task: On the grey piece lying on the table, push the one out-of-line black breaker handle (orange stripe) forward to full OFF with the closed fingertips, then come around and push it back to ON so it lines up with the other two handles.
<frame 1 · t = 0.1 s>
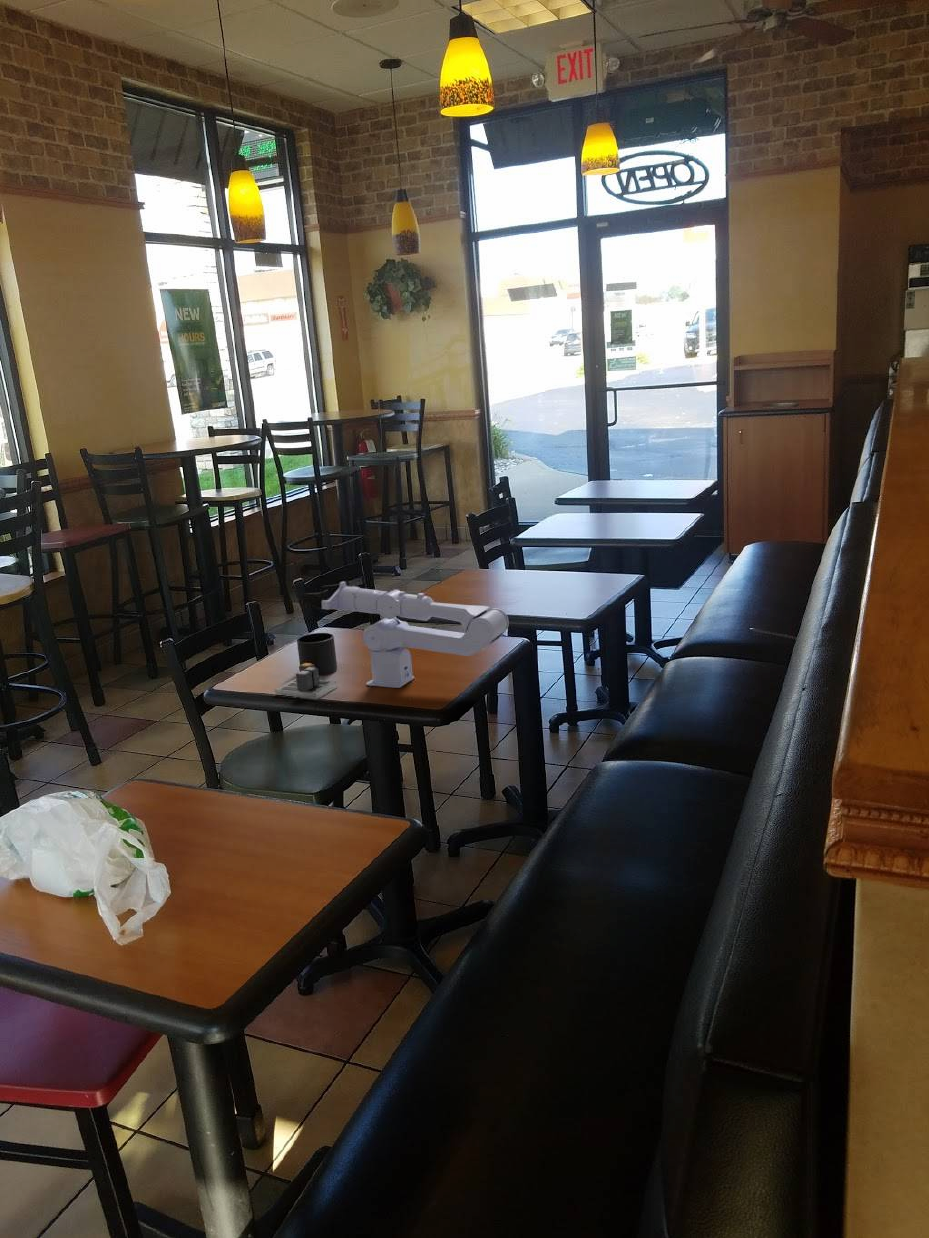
hand: (312, 594, 238), 22 cm above the table, tool horizontal, fingers open, 7 cm apart
mug: (321, 670, 250), on the table
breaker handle: (307, 672, 235), point 4 cm above the table, slide at 0.0 cm
grey piece: (306, 691, 233), on the table
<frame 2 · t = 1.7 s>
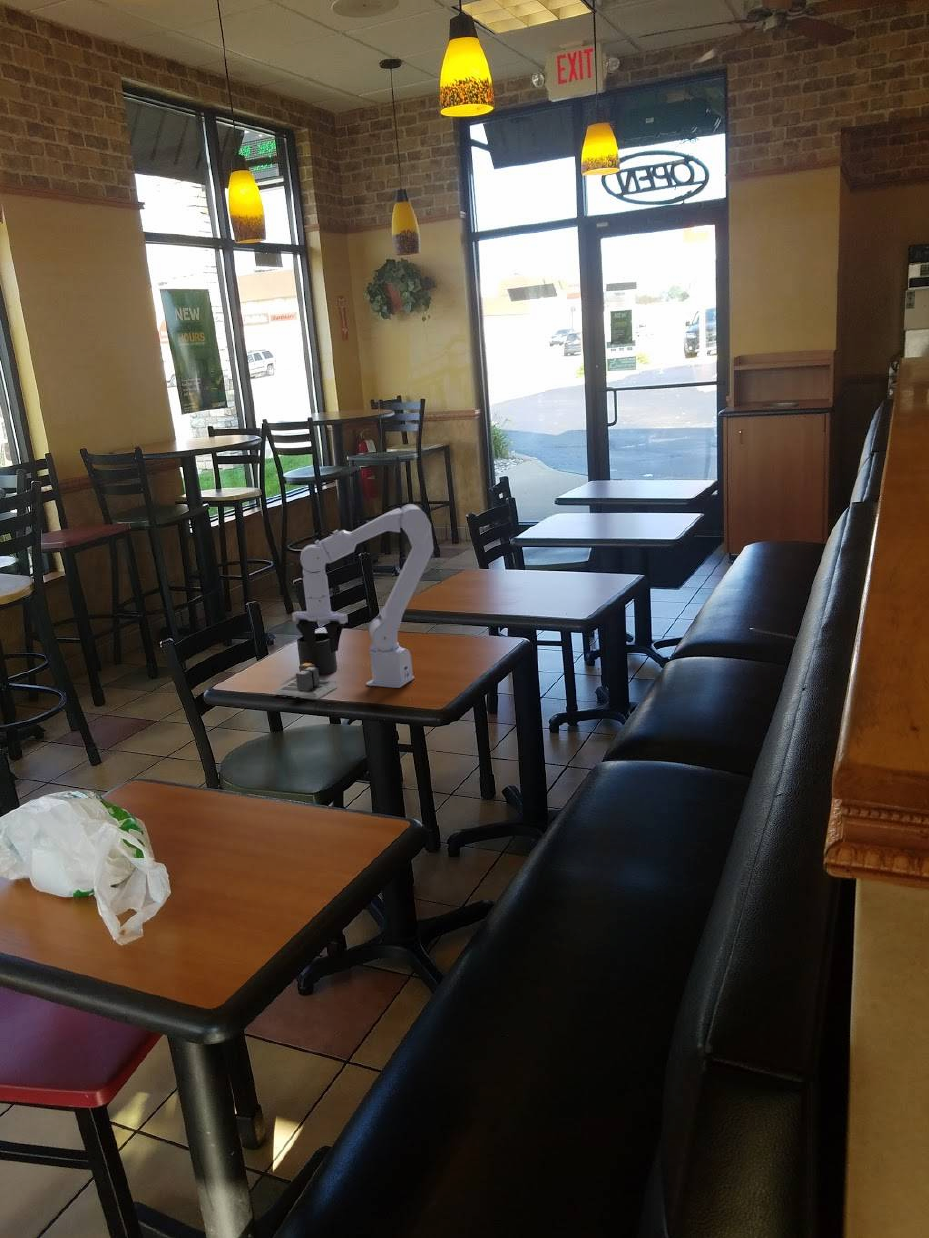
hand: (323, 650, 231), 10 cm above the table, tool pointing down, fingers open, 6 cm apart
nothing on the table moved.
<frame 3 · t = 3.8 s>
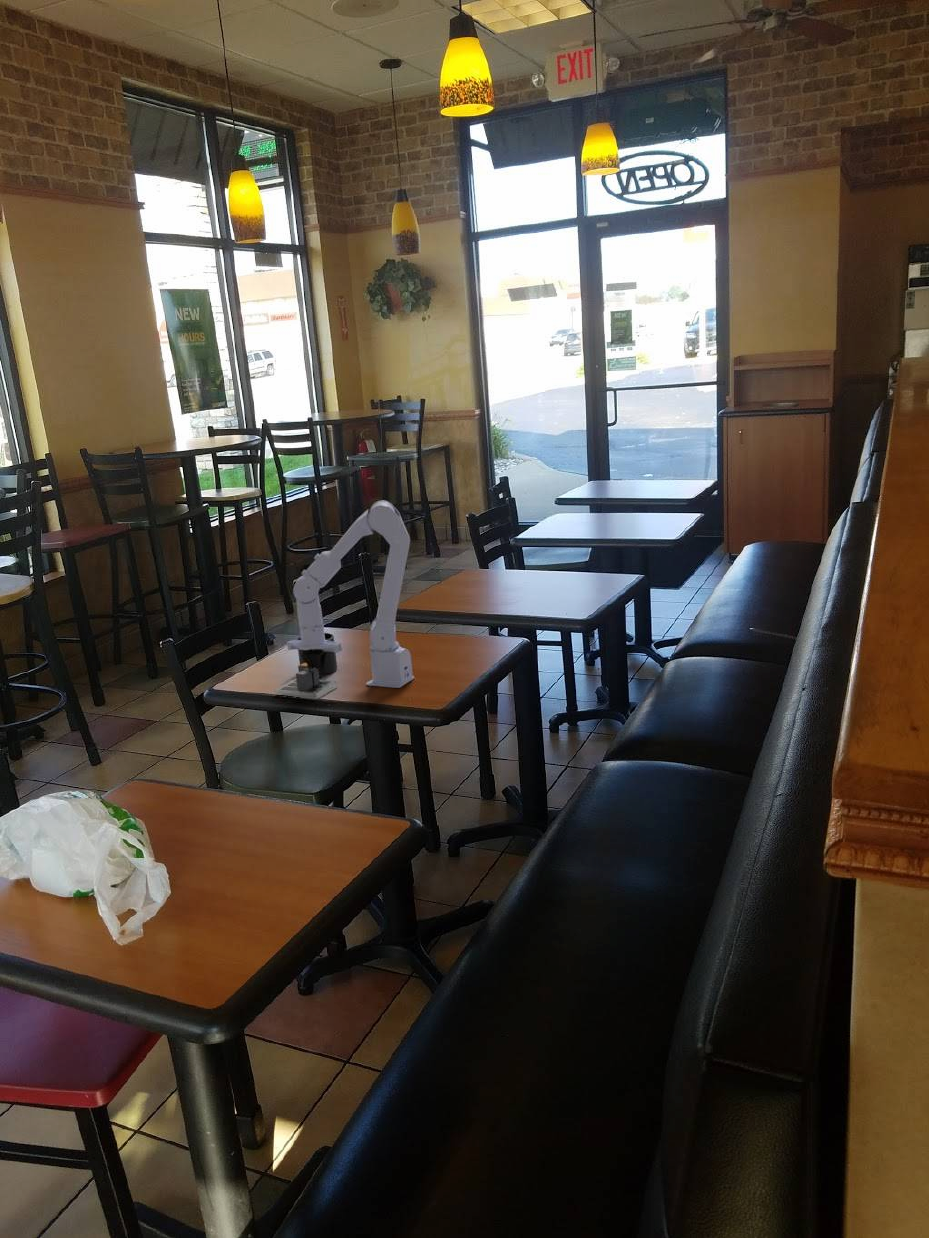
hand: (318, 678, 234), 2 cm above the table, tool pointing down, fingers closed, pressing on grey piece
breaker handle: (306, 672, 235), point 4 cm above the table, slide at 0.3 cm, touching gripper
everything else where it was.
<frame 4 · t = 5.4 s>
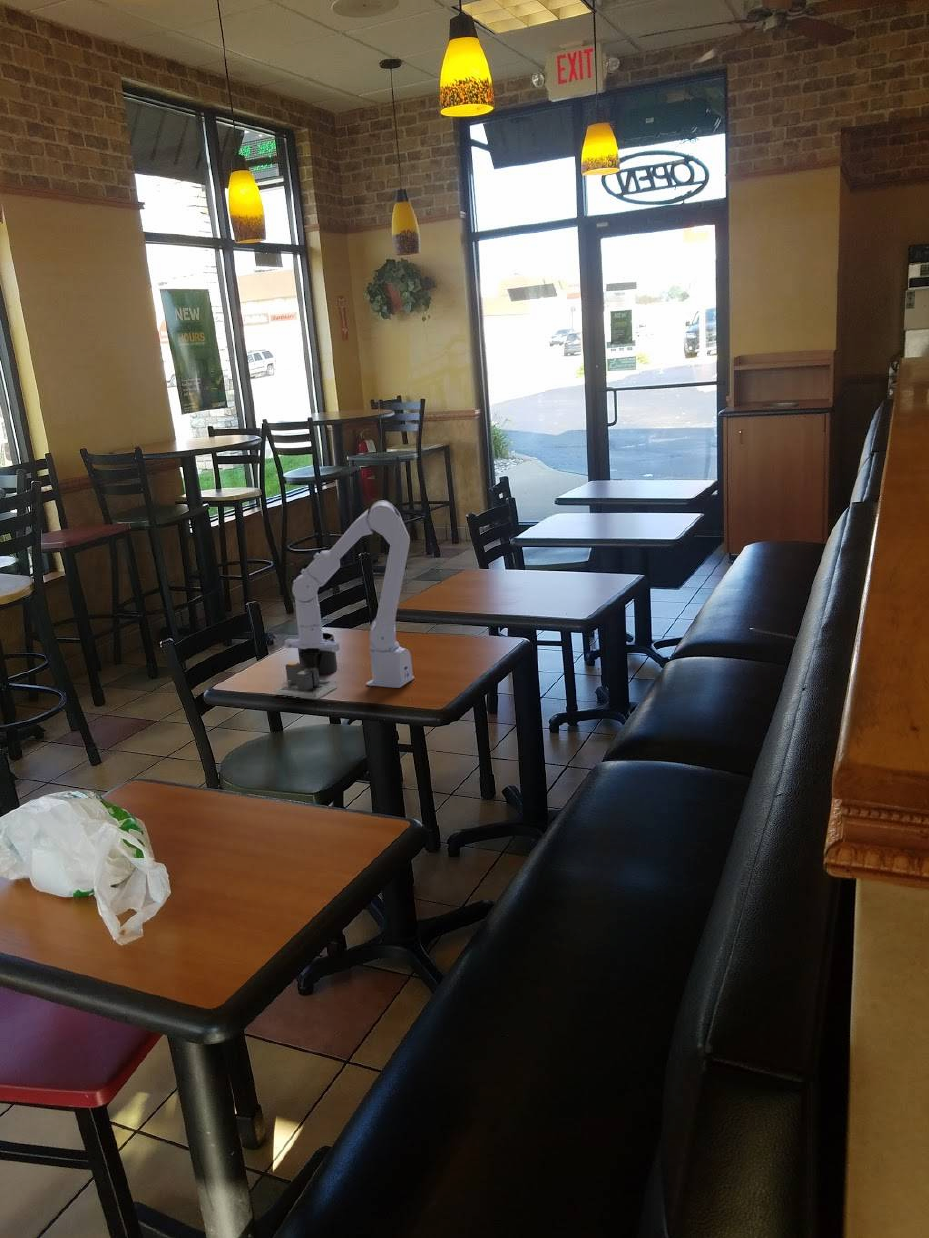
hand: (315, 677, 234), 3 cm above the table, tool pointing down, fingers closed, pressing on grey piece
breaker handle: (293, 671, 237), point 4 cm above the table, slide at 4.0 cm
everything else where it was.
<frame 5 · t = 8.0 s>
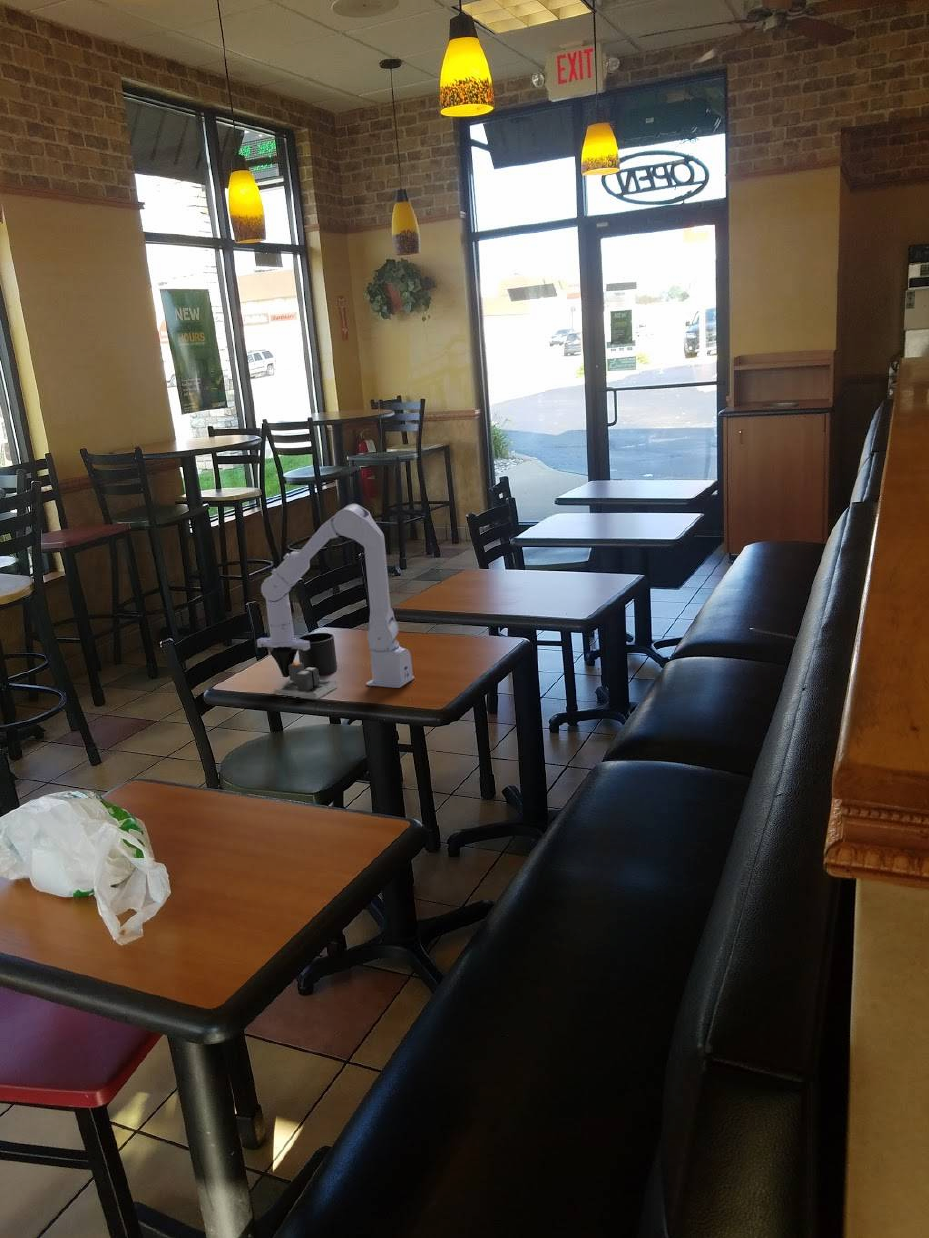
hand: (287, 675, 238), 3 cm above the table, tool pointing down, fingers closed
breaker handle: (296, 671, 236), point 4 cm above the table, slide at 3.1 cm, touching gripper
everything else where it was.
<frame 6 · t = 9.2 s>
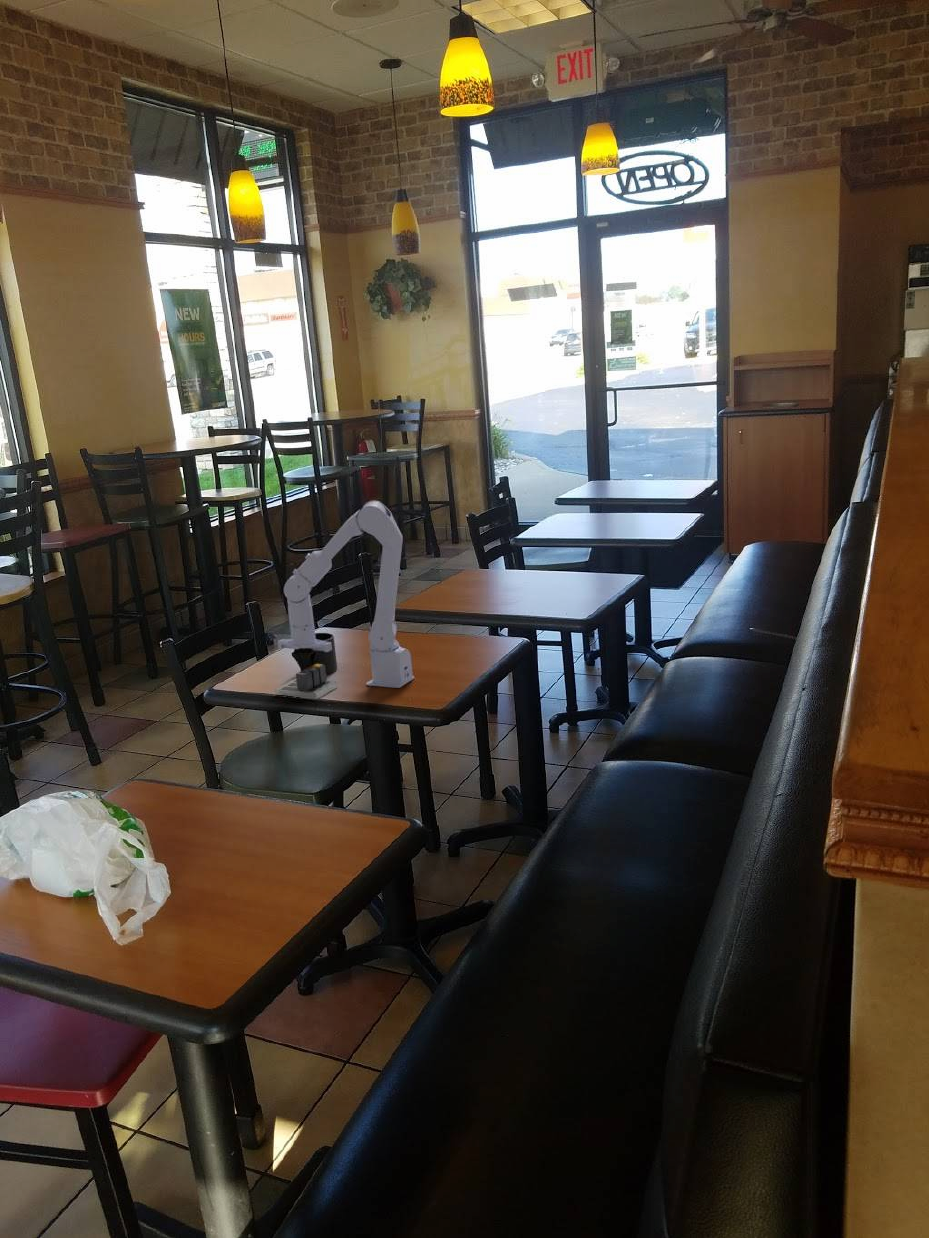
hand: (308, 677, 235), 3 cm above the table, tool pointing down, fingers closed
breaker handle: (318, 673, 233), point 4 cm above the table, slide at -3.1 cm, touching gripper
everything else where it was.
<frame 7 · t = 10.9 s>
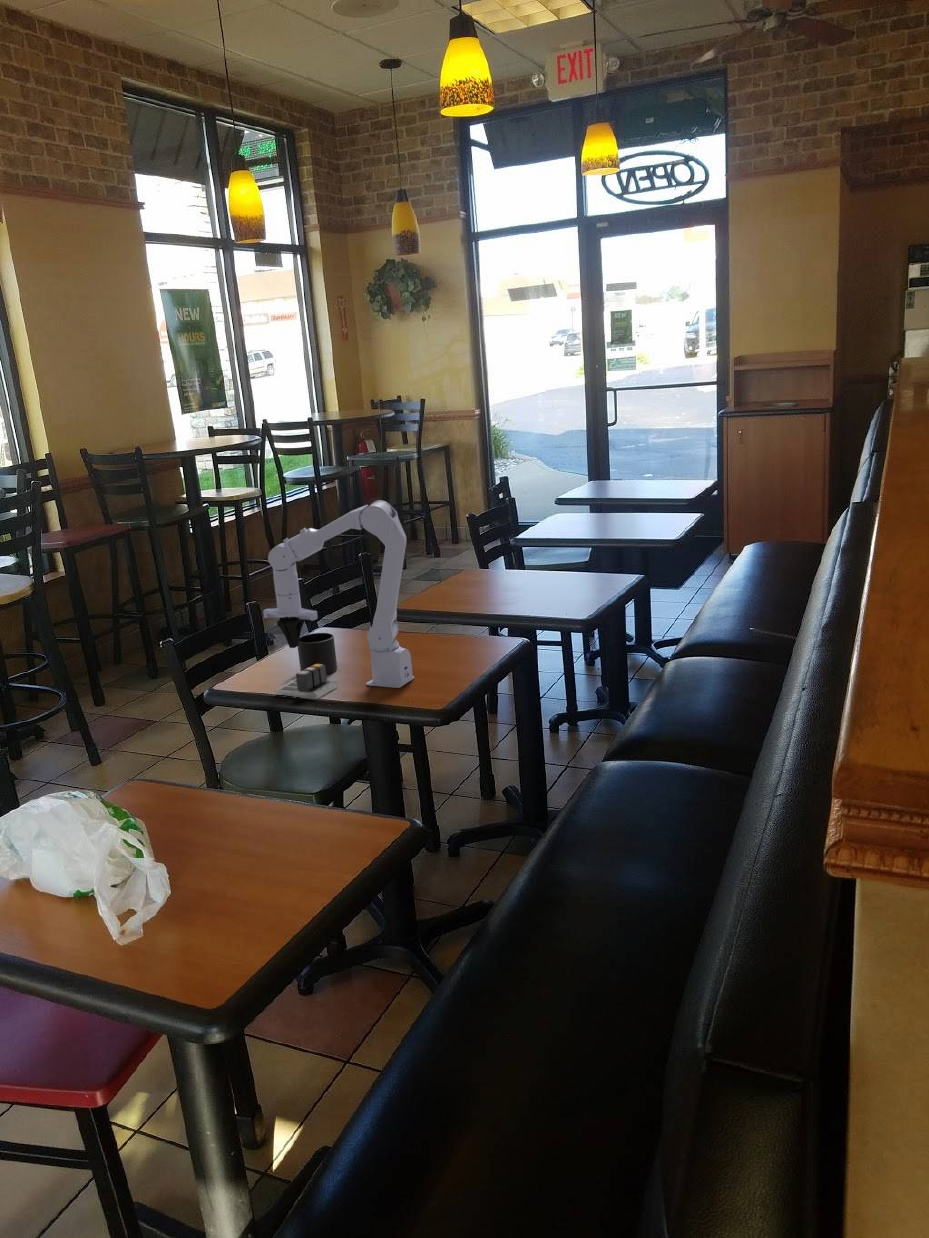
hand: (294, 646, 235), 10 cm above the table, tool pointing down, fingers closed
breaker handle: (318, 673, 233), point 4 cm above the table, slide at -3.2 cm
everything else where it was.
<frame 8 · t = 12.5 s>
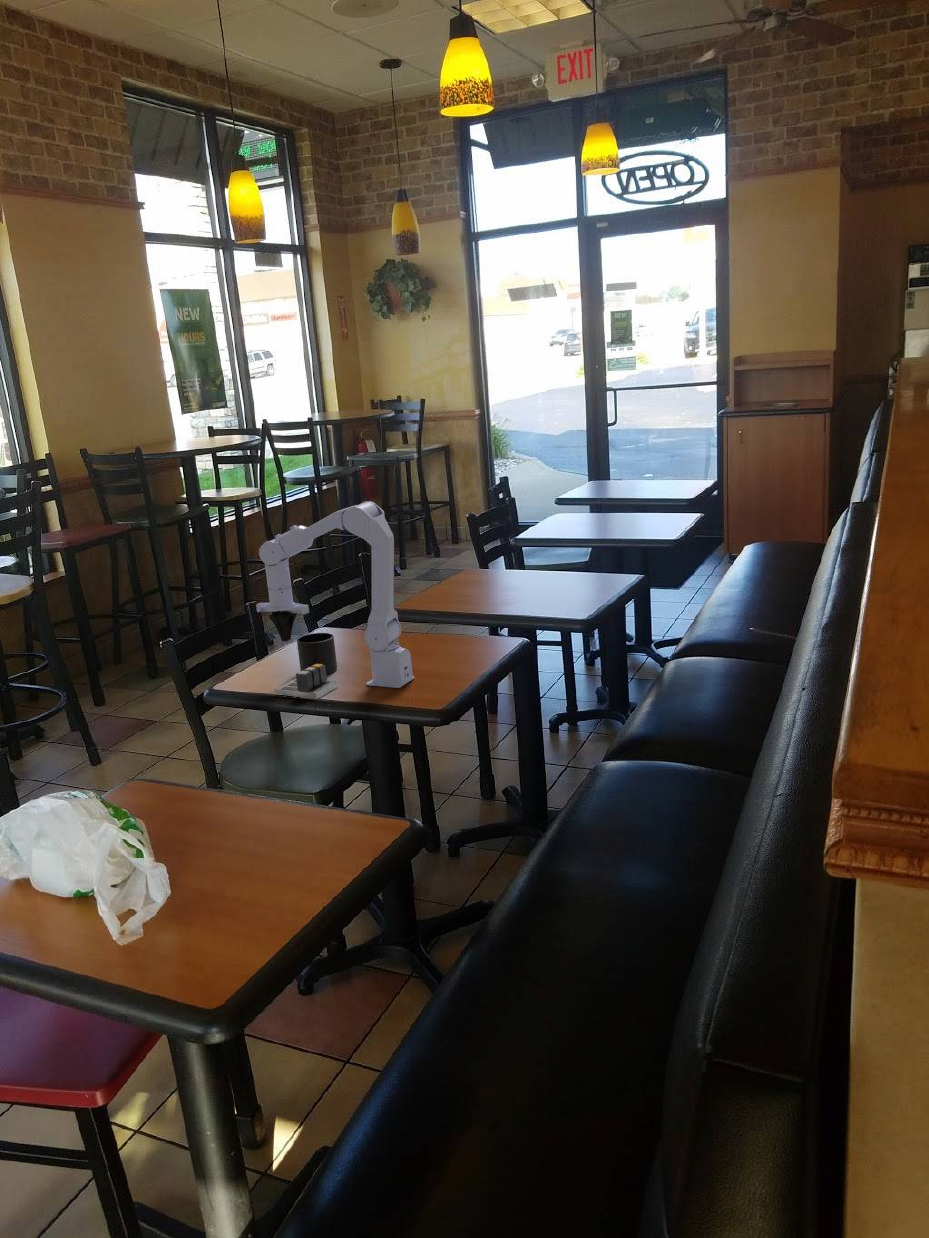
hand: (286, 640, 241), 10 cm above the table, tool pointing down, fingers closed
nothing on the table moved.
at the end: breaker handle slide at -3.2 cm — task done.
